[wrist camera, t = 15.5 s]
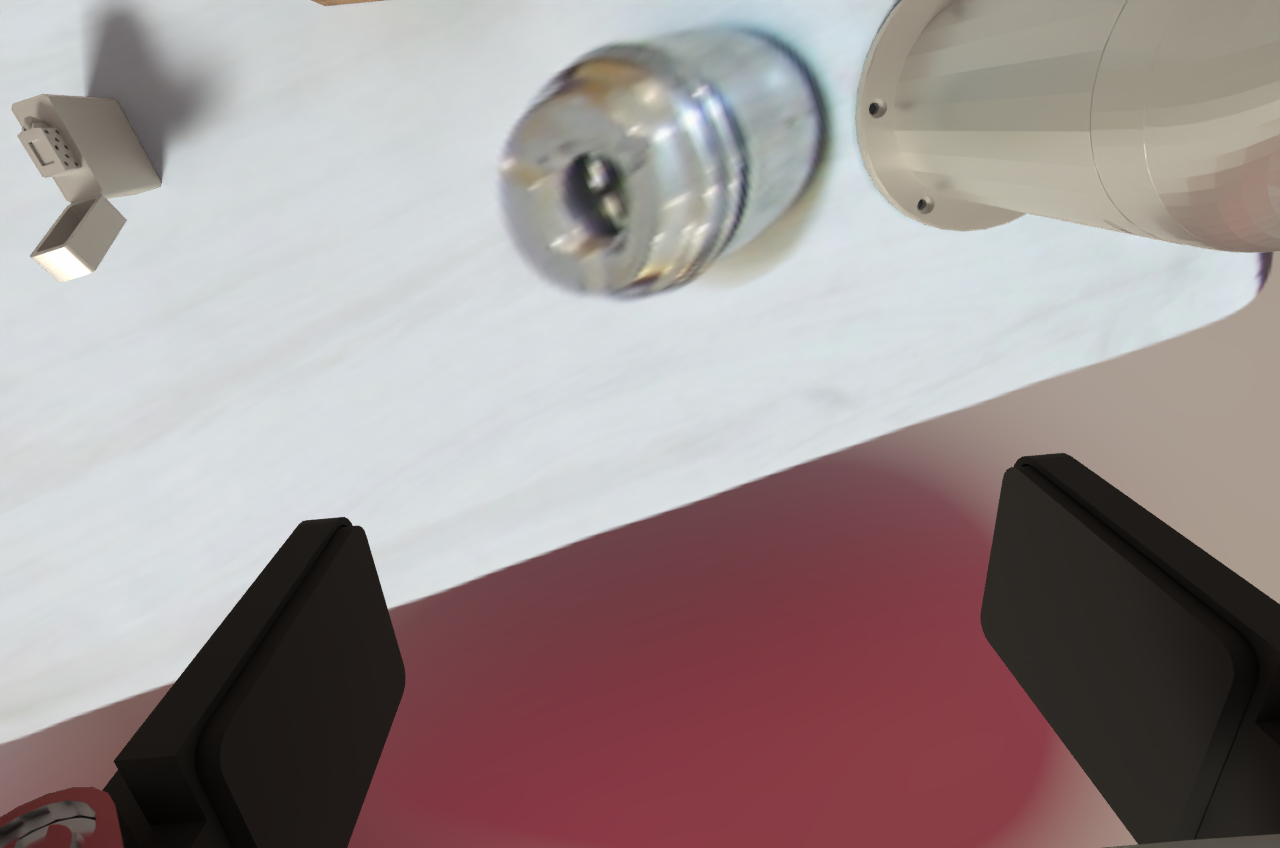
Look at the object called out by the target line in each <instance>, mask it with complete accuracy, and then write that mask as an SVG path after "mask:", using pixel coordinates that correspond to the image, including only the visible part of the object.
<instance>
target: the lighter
mask: <svg viewBox="0 0 1280 848" xmlns="http://www.w3.org/2000/svg"><path fill="white" fill-rule="evenodd" d="M11 110H12V111H13V113H14V115H15V116H16V118H17V120H18V121H19V123H20V125H21V126H22V132H21V133H20V134H19V135H17V136H18V138H19V139H20V141H21V143H22V144H23V146H24V148H25V149H26V151H27V152H28V154H29V156H30V157H31V159H32V161H33V162H34V164H35V166H36V167H37V169H38V170H39V172H40V174H41V175H42V177H53V179H54V180H55V182H56V184H57V185H58V187H59V189H60V190H61V192H62V194H63V195H64V197H65V199H66V200H67V201H69V202H71V204H70V205H68V206H67V207H66V208H65V210H64V211H63V212H62V214H61V215H60V216H59V218H58V219H57V220H56V222H55V223H54V224H53V226H52V227H51V228H50V230H49V231H48V232H47V234H46V235H45V236H44V238H43V239H42V240H41V242H40V243H39V244H38V246H37V247H36V248H35V250H34V251H33V252H32V254H31V255H30V257H31V258H33V259H34V260H35V261H36V262H37V263H38V264H39V265H41V266H42V267H43V268H44V269H45V270H46V271H47V272H49V273H50V274H51V275H52V276H53V277H54V278H55V279H57V280H58V281H59V282H60V283H61V282H64V281H67V280H71V279H74V278H77V277H80V276H84V275H87V274H90V273H92V272H93V271H95V270H96V269H97V267H98V265H99V264H100V262H101V261H102V259H103V257H104V256H105V254H106V253H107V251H108V249H109V248H110V246H111V245H112V243H113V241H114V240H115V238H116V237H117V235H118V233H119V232H120V230H121V229H122V227H123V225H124V224H125V222H126V221H127V220H126V219H125V218H124V217H123V216H122V215H121V214H120V213H119V211H118V210H117V209H116V208H115V207H114V206H113V205H112V204H111V203H110V202H109V201H108V200H107V199H108V198H115V197H122V196H129V195H136V194H139V193H142V192H145V191H148V190H152V189H155V188H158V187H160V186H161V180H160V178H159V177H158V175H157V173H156V171H155V169H154V167H153V166H152V164H151V162H150V160H149V158H148V156H147V155H146V153H145V151H144V149H143V147H142V145H141V144H140V142H139V140H138V138H137V136H136V134H135V133H134V131H133V129H132V127H131V125H130V123H129V122H128V120H127V118H126V116H125V114H124V112H123V111H122V109H121V107H120V105H119V103H118V101H116V100H114V99H112V98H98V97H82V96H65V95H49V94H41V95H38V96H35V97H32V98H29V99H26V100H23V101H20V102H17V103H14V104H12V109H11Z"/></svg>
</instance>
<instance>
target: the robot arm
mask: <svg viewBox="0 0 1280 848" xmlns="http://www.w3.org/2000/svg"><path fill="white" fill-rule="evenodd" d="M872 103H874V104H875V105H876V110H875V112H874V113H873V114H870V113H869V107H870V105H871V104H872ZM855 120H856V131H857V142H858V146H859V149H860V153H861V156H862V160H863V163H864V166H865V168H866V170H867V172H868V174H869V176H870V178H871V180H872V182H873V184H874V186H875V187H876V188H877V189H878V191H879V192H880V193H881V194H882V195H883V197H884V198H885V199H886V200H887V201H888V203H890V204H891V205H892V206H894V207H895V208H896V209H897V210H899V211H900V212H901V213H903V214H904V215H905V216H907V217H910V218H912V219H914V220H916V221H918V222H920V223H923V224H925V225H929V226H933V227H936V228H940V229H945V230H955V231H973V230H983V229H988V228H992V227H995V226H999V225H1002V224H1006V223H1009V222H1011V221H1013V220H1015V219H1017V218H1019V217H1021V216H1023V215H1026V214H1033V215H1038V216H1042V217H1047V218H1052V219H1057V220H1062V221H1067V222H1072V223H1077V224H1082V225H1087V226H1092V227H1097V228H1102V229H1107V230H1112V231H1117V232H1122V233H1127V234H1132V235H1137V236H1142V237H1147V238H1152V239H1157V240H1162V241H1166V242H1171V243H1176V244H1184V245H1189V246H1194V247H1200V248H1205V249H1212V250H1219V251H1228V252H1246V253H1252V252H1274V251H1280V0H901V1H900V2H899V3H898V4H897V5H896V7H895V8H894V9H893V10H892V11H891V13H890V14H889V16H888V17H887V19H886V21H885V22H884V24H883V25H882V27H881V29H880V30H879V32H878V33H877V35H876V37H875V39H874V41H873V44H872V46H871V48H870V51H869V53H868V55H867V58H866V60H865V62H864V66H863V70H862V74H861V78H860V82H859V86H858V90H857V101H856V113H855ZM920 200H922V201H923V204H922V206H921V207H920V208H917V205H918V202H919V201H920ZM981 625H982V628H983V632H984V634H985V637H986V638H987V640H988V642H989V643H990V644H991V646H992V647H993V648H994V650H995V651H996V653H997V654H998V655H999V656H1000V658H1001V659H1002V661H1003V662H1004V663H1005V665H1006V666H1007V667H1008V669H1009V670H1010V671H1011V673H1012V674H1013V675H1014V677H1015V678H1016V680H1017V681H1018V682H1019V684H1020V685H1021V686H1022V688H1023V689H1024V690H1025V692H1026V693H1027V694H1028V696H1029V697H1030V698H1031V700H1032V701H1033V703H1034V704H1035V705H1036V707H1037V708H1038V709H1039V711H1040V712H1041V713H1042V715H1043V716H1044V717H1045V719H1046V720H1047V721H1048V723H1049V724H1050V725H1051V727H1052V728H1053V730H1054V731H1055V732H1056V734H1057V735H1058V736H1059V738H1060V739H1061V740H1062V742H1063V743H1064V744H1065V746H1066V747H1067V748H1068V750H1069V751H1070V752H1071V754H1072V755H1073V757H1074V758H1075V759H1076V761H1077V762H1078V763H1079V765H1080V766H1081V767H1082V769H1083V770H1084V771H1085V773H1086V774H1087V776H1088V777H1089V778H1090V779H1091V781H1092V782H1093V784H1094V785H1095V786H1096V788H1097V789H1098V790H1099V792H1100V793H1101V794H1102V796H1103V797H1104V798H1105V800H1106V801H1107V803H1108V804H1109V805H1110V807H1111V808H1112V809H1113V811H1114V812H1115V813H1116V815H1117V816H1118V817H1119V819H1120V820H1121V821H1122V823H1123V824H1124V826H1125V827H1126V828H1127V830H1128V831H1129V832H1130V834H1131V835H1132V836H1133V838H1134V839H1135V840H1136V842H1137V843H1138V845H1129V846H1117V847H1105V848H1280V604H1278V603H1277V602H1276V601H1274V600H1273V599H1271V598H1270V597H1269V596H1267V595H1266V594H1264V593H1263V592H1261V591H1260V590H1259V589H1257V588H1256V587H1254V586H1253V585H1252V584H1250V583H1249V582H1248V581H1246V580H1245V579H1243V578H1242V577H1240V576H1239V575H1238V574H1236V573H1235V572H1233V571H1232V570H1230V569H1229V568H1228V567H1226V566H1225V565H1224V564H1222V563H1221V562H1219V561H1218V560H1216V559H1215V558H1213V557H1212V556H1211V555H1209V554H1208V553H1207V552H1205V551H1204V550H1202V549H1201V548H1200V547H1198V546H1197V545H1195V544H1194V543H1192V542H1191V541H1190V540H1188V539H1187V538H1185V537H1184V536H1183V535H1181V534H1180V533H1178V532H1177V531H1176V530H1174V529H1173V528H1171V527H1170V526H1169V525H1167V524H1166V523H1164V522H1163V521H1162V520H1160V519H1159V518H1157V517H1156V516H1154V515H1153V514H1152V513H1150V512H1149V511H1147V510H1146V509H1145V508H1143V507H1142V506H1140V505H1139V504H1137V503H1136V502H1134V501H1133V500H1132V499H1131V498H1129V497H1128V496H1126V495H1125V494H1123V493H1122V492H1121V491H1119V490H1118V489H1116V488H1115V487H1114V486H1112V485H1111V484H1109V483H1108V482H1107V481H1105V480H1104V479H1102V478H1101V477H1100V476H1098V475H1097V474H1095V473H1094V472H1092V471H1091V470H1089V469H1088V468H1087V467H1085V466H1084V465H1083V464H1081V463H1080V462H1078V461H1077V460H1076V459H1074V458H1073V457H1071V456H1069V455H1067V454H1065V453H1057V454H1046V455H1035V456H1024V457H1021V458H1020V459H1018V460H1017V462H1016V463H1015V465H1014V467H1011V468H1009V469H1007V470H1006V472H1005V474H1004V477H1003V481H1002V487H1001V493H1000V499H999V506H998V512H997V518H996V524H995V530H994V536H993V543H992V548H991V554H990V560H989V566H988V572H987V579H986V584H985V591H984V597H983V603H982V609H981ZM404 687H405V668H404V664H403V660H402V657H401V654H400V650H399V647H398V644H397V640H396V637H395V633H394V629H393V626H392V623H391V619H390V616H389V612H388V609H387V605H386V602H385V598H384V595H383V592H382V588H381V585H380V581H379V578H378V574H377V571H376V567H375V564H374V561H373V557H372V554H371V550H370V547H369V543H368V540H367V537H366V534H365V531H364V530H363V528H362V527H360V526H353V525H352V523H351V522H350V521H349V519H347V518H345V517H339V518H328V519H317V520H306V521H302V522H301V523H300V524H299V525H298V526H297V528H296V529H295V530H294V531H293V533H292V534H291V535H290V536H289V538H288V539H287V540H286V542H285V543H284V544H283V545H282V547H281V548H280V549H279V551H278V552H277V553H276V554H275V556H274V557H273V558H272V559H271V561H270V562H269V563H268V565H267V566H266V567H265V568H264V570H263V571H262V572H261V574H260V575H259V576H258V577H257V579H256V580H255V581H254V582H253V584H252V585H251V586H250V588H249V589H248V590H247V591H246V593H245V594H244V595H243V597H242V598H241V599H240V600H239V602H238V603H237V604H236V605H235V607H234V608H233V609H232V611H231V612H230V613H229V614H228V616H227V617H226V618H225V619H224V621H223V622H222V623H221V625H220V626H219V627H218V628H217V630H216V631H215V632H214V634H213V635H212V636H211V637H210V639H209V640H208V641H207V642H206V644H205V645H204V646H203V648H202V649H201V650H200V651H199V653H198V654H197V655H196V657H195V658H194V659H193V660H192V662H191V663H190V664H189V665H188V667H187V668H186V669H185V671H184V672H183V673H182V674H181V676H180V677H179V678H178V680H177V681H176V682H175V683H174V685H173V686H172V687H171V688H170V690H169V691H168V692H167V694H166V695H165V696H164V697H163V699H162V700H161V701H160V703H159V704H158V705H157V707H156V708H155V709H154V710H153V712H152V713H151V714H150V715H149V717H148V718H147V719H146V720H145V722H144V723H143V724H142V726H141V727H140V728H139V729H138V731H137V732H136V733H135V734H134V736H133V737H132V738H131V740H130V741H129V742H128V743H127V745H126V746H125V747H124V749H123V750H122V751H121V753H120V754H119V755H118V756H117V757H116V759H115V760H114V763H115V765H116V766H117V768H118V771H117V772H116V773H115V775H114V776H113V777H112V779H111V780H110V781H109V782H108V784H107V785H106V787H105V788H104V789H103V790H100V789H98V788H95V787H71V788H67V789H64V790H59V791H56V792H52V793H48V794H45V795H43V796H41V797H38V798H36V799H34V800H32V801H29V802H27V803H25V804H22V805H20V806H18V807H16V808H15V809H13V810H11V811H10V812H8V813H6V814H5V815H3V816H1V817H0V848H347V846H348V844H349V841H350V838H351V835H352V832H353V830H354V827H355V824H356V822H357V819H358V816H359V813H360V811H361V808H362V805H363V802H364V799H365V797H366V794H367V791H368V789H369V786H370V783H371V780H372V778H373V775H374V772H375V769H376V766H377V764H378V761H379V758H380V756H381V753H382V750H383V747H384V745H385V742H386V739H387V737H388V734H389V731H390V728H391V726H392V722H393V720H394V717H395V715H396V712H397V709H398V706H399V704H400V701H401V698H402V695H403V691H404Z"/></svg>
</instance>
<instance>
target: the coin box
mask: <svg viewBox="0 0 1280 848" xmlns="http://www.w3.org/2000/svg"><path fill="white" fill-rule="evenodd" d="M312 1H314V2H317V3H319V4H321V5H324V6H329V5H340V4H351V3H361V2H372V1H382V0H312Z"/></svg>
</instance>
